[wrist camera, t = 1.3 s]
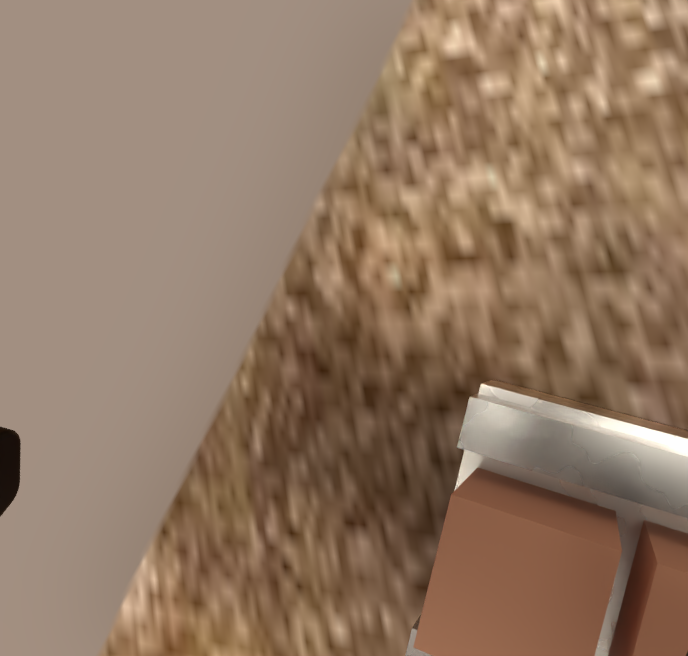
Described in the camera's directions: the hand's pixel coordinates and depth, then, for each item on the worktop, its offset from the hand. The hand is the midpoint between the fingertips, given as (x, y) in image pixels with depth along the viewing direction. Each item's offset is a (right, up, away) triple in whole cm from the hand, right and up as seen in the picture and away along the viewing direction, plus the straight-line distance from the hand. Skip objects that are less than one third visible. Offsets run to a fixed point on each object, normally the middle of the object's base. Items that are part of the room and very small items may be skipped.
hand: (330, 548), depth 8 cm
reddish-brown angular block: (+6, -4, +11) cm, 13 cm away
